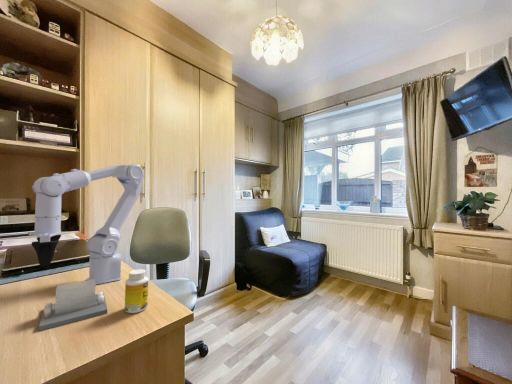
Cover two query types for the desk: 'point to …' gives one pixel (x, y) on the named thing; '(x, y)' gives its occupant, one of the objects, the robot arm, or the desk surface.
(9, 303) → the desk surface
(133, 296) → the supplement bottle
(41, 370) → the desk surface
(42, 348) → the desk surface
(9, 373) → the desk surface
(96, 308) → the pin tray
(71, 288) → the block
